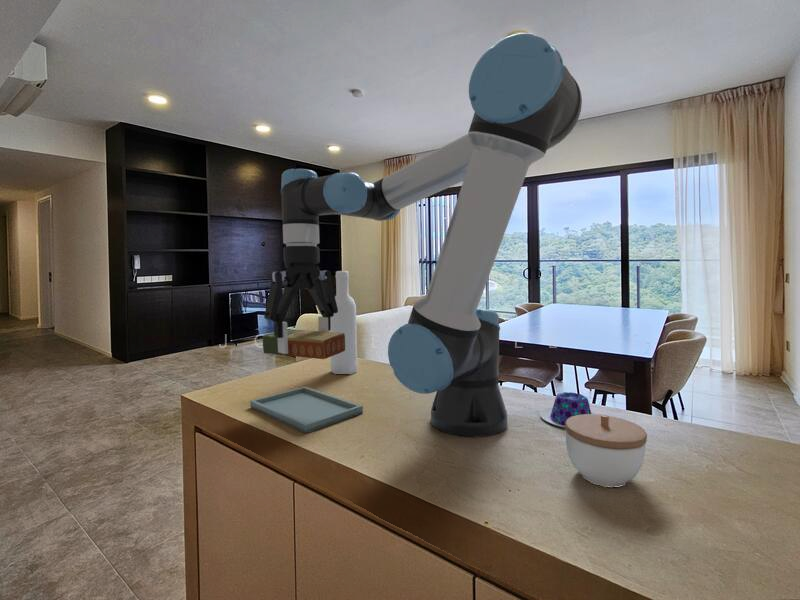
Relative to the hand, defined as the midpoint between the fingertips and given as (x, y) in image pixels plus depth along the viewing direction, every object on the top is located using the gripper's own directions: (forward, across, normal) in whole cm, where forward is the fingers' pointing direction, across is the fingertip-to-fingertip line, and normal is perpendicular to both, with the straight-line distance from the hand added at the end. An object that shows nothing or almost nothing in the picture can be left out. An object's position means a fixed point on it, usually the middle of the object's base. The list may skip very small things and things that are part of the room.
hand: (304, 349), depth 90 cm
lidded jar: (+14, -13, +58) cm, 61 cm away
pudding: (+14, -33, +45) cm, 58 cm away
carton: (+1, 0, 0) cm, 1 cm away
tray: (+14, 0, 0) cm, 14 cm away
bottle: (+14, -27, -20) cm, 36 cm away
